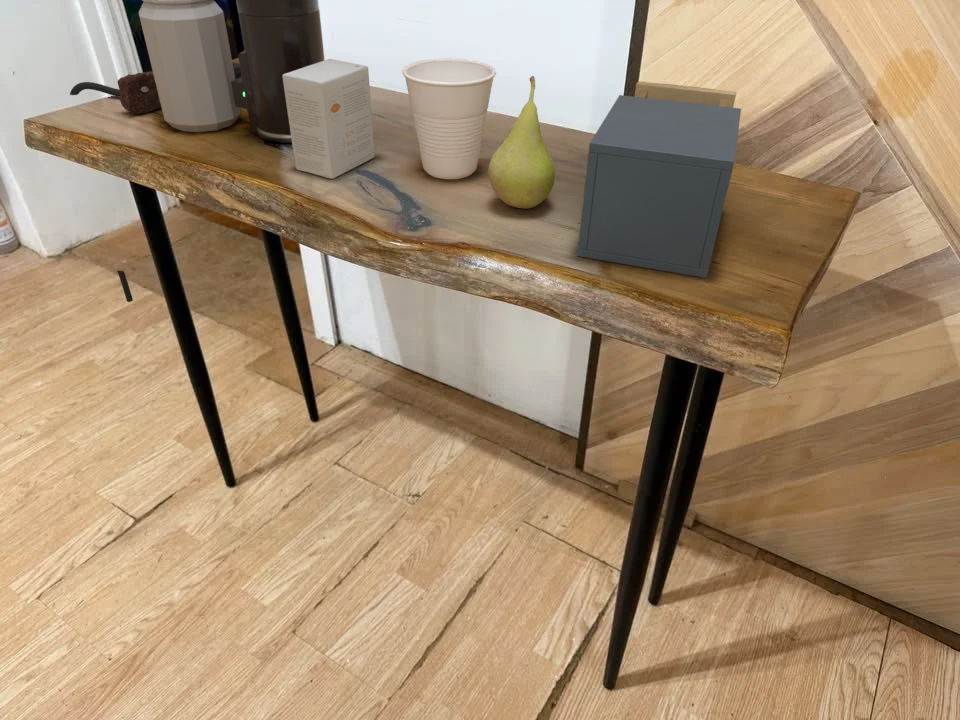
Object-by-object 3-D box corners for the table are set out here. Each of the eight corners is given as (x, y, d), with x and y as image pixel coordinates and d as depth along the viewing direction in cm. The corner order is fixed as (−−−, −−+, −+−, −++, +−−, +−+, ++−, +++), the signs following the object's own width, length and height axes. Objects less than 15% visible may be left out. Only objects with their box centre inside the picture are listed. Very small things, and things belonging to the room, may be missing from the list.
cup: (483, 191, 77) (486, 86, 70) (395, 182, 78) (390, 78, 72) (500, 158, 85) (503, 61, 78) (419, 151, 86) (416, 55, 80)
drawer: (632, 147, 86) (643, 71, 81) (720, 158, 84) (738, 80, 78) (605, 204, 72) (616, 117, 67) (710, 220, 70) (730, 131, 65)
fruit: (483, 215, 72) (486, 94, 65) (494, 186, 78) (497, 72, 71) (549, 221, 71) (559, 99, 64) (555, 191, 77) (564, 76, 70)
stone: (133, 118, 94) (122, 78, 91) (119, 113, 95) (108, 75, 92) (181, 104, 99) (173, 66, 96) (168, 100, 101) (159, 62, 98)
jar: (180, 139, 88) (142, -25, 77) (153, 119, 94) (114, -36, 83) (255, 124, 93) (228, -31, 82) (225, 106, 99) (196, -42, 88)
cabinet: (606, 195, 76) (619, 94, 70) (717, 212, 74) (741, 108, 67) (577, 256, 65) (589, 142, 59) (706, 278, 62) (734, 161, 56)
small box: (339, 149, 86) (330, 57, 80) (376, 158, 84) (369, 64, 78) (293, 169, 81) (280, 73, 74) (332, 180, 78) (321, 81, 72)
